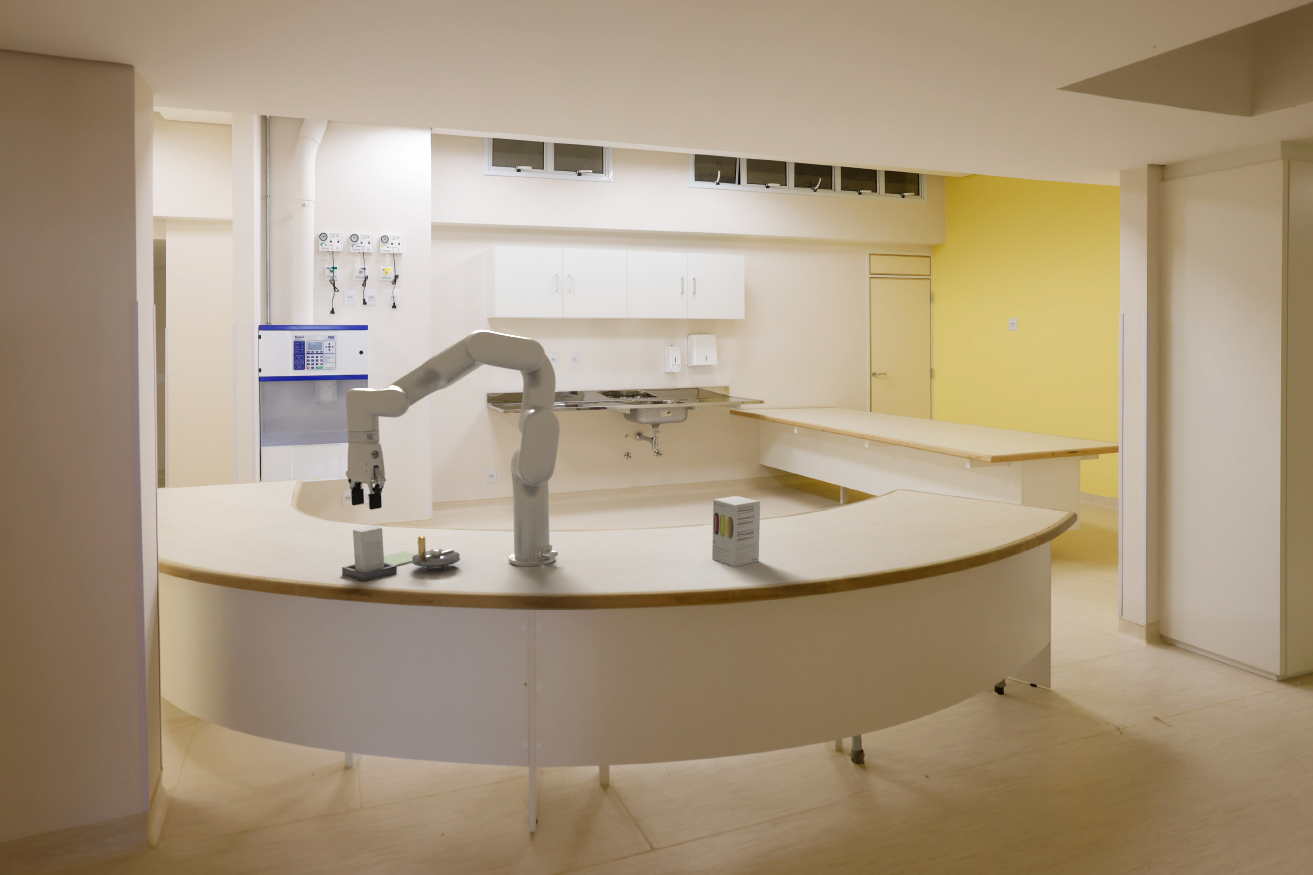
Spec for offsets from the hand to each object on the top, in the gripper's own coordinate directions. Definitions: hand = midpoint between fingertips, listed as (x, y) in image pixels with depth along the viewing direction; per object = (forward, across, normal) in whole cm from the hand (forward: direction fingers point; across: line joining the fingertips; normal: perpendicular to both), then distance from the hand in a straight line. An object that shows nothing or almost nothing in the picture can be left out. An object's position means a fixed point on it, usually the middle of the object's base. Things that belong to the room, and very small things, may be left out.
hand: (366, 506), depth 210 cm
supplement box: (+18, -66, -70) cm, 98 cm away
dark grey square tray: (+18, 0, 0) cm, 18 cm away
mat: (+18, +6, -13) cm, 23 cm away
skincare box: (+18, 0, 0) cm, 18 cm away
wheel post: (+18, -9, -14) cm, 24 cm away
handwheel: (+16, -9, -14) cm, 23 cm away
